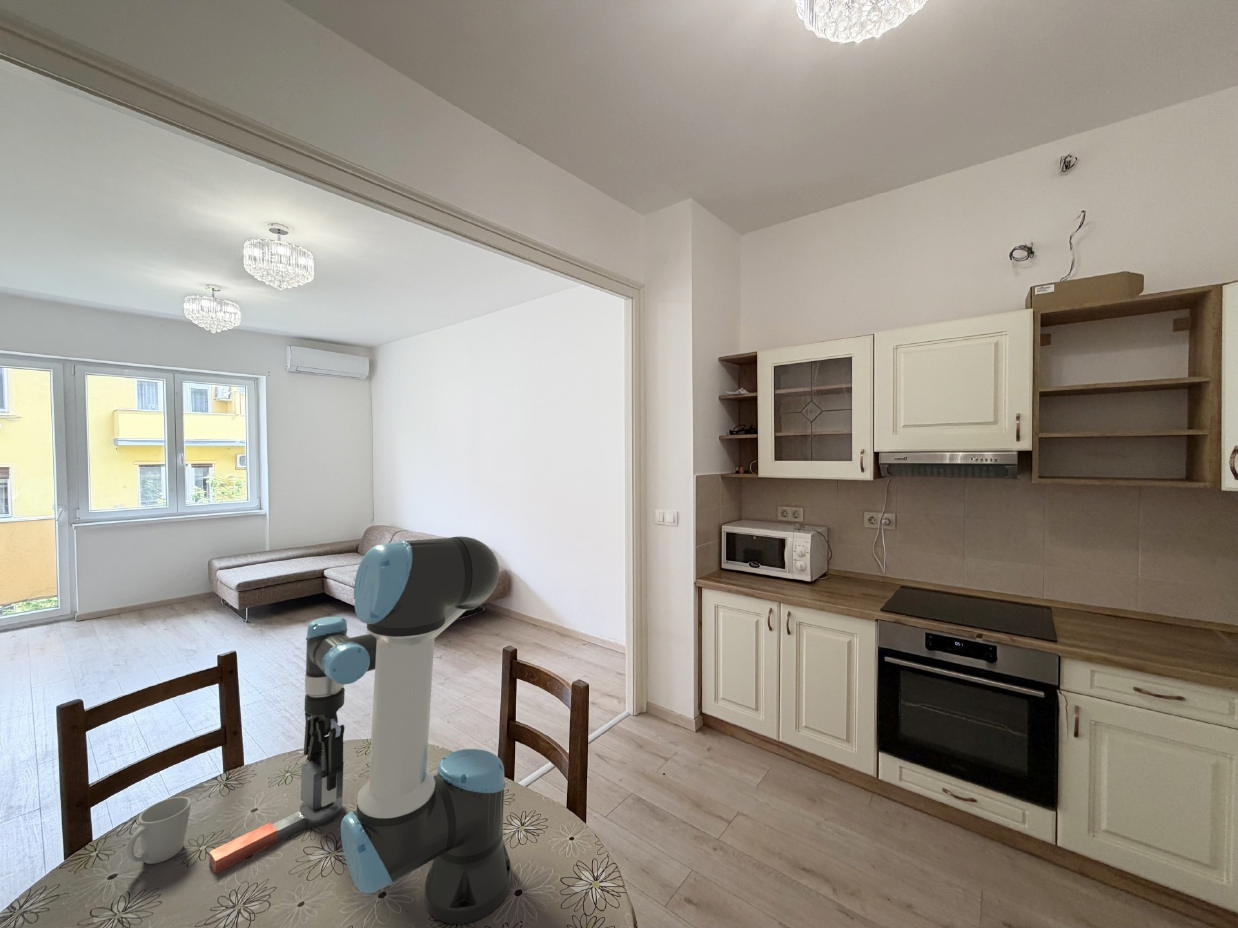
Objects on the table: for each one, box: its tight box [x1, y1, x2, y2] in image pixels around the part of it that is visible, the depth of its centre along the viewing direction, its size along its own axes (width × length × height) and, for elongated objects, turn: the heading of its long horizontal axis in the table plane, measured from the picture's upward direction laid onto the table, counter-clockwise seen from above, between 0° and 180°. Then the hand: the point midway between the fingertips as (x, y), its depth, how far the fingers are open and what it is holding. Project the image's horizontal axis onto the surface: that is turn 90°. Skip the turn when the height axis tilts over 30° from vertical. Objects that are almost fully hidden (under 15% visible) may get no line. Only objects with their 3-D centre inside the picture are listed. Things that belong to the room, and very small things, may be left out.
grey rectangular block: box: [300, 756, 344, 811], centre depth 108 cm, size 6×6×8 cm
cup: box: [126, 796, 192, 865], centre depth 95 cm, size 8×10×8 cm
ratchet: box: [208, 796, 343, 875], centre depth 102 cm, size 23×8×8 cm, turn 144°
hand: (321, 796), depth 108 cm, fingers closed on grey rectangular block, 6 cm apart
